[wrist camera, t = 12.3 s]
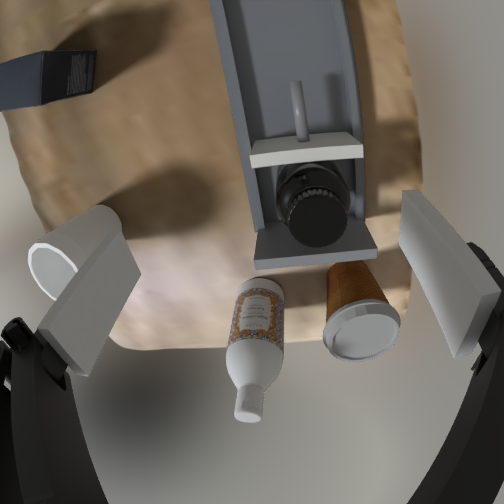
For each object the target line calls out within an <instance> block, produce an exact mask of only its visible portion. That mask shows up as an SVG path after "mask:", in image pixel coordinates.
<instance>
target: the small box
mask: <svg viewBox="0 0 504 504" xmlns="http://www.w3.org/2000/svg"><path fill="white" fill-rule="evenodd" d="M96 53H97V50H96V49H91V50H64V51H40V52H36V53H33V54H29V55H25V56H22V57H19V58H15V59H12V60H9V61H7V62H4V63H1V64H0V112H1V111H7V110H13V109H20V108H28V107H37V106H42V105H46V104H50V103H54V102H57V101H61V100H65V99H69V98H73V97H77V96H81V95H86V94H90V93H92V91H93V81H94V70H95V60H96Z"/></svg>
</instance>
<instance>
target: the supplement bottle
mask: <svg viewBox="0 0 504 504" xmlns="http://www.w3.org/2000/svg"><path fill="white" fill-rule="evenodd" d="M350 205H351V197H350V192H349V189H348V186H347V184H346V182H345V180H344V179H343V177H342V175H341V173H340V171H339V170H338V168H337V166H336V165H335V163H334V161H333V160H322V161H311V162H301V163H291V164H282V165H278V169H277V178H276V209H277V212H278V215H279V217H280V219H281V220H282V222H283V223H284V224H285V225H286V226H287V227H288V228H289V231H290V232H291V235H292V236H294V238H295V240H297V241H298V242H299V243H302V244H303V245H305V246H308V247H313V248H316V247H318V248H321V247H326V246H327V245H331V244H332V243H335V242H336V241H337V240H338V239H340V237H341V236H342V235H343V233H344V231H345V230H346V226H347V220H348V218H347V215H348V213H349V210H350Z"/></svg>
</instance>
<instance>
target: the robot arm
mask: <svg viewBox="0 0 504 504" xmlns="http://www.w3.org/2000/svg"><path fill="white" fill-rule="evenodd" d="M399 246H400V247H401V249H402V251H403V253H404V254H405V256H406V258H407V260H408V262H409V263H410V265H411V267H412V269H413V271H414V273H415V275H416V277H417V279H418V280H419V282H420V284H421V286H422V288H423V290H424V292H425V294H426V296H427V298H428V301H429V302H430V305H431V307H432V309H433V311H434V313H435V315H436V317H437V320H438V322H439V324H440V326H441V329H442V331H443V333H444V336H445V338H446V341H447V343H448V345H449V348H450V350H451V353H452V355H453V358H458V357H461V356H465V355H468V354H471V353H472V352H473V350H474V348H475V347H476V345H477V343H478V342H479V344H480V346H481V349H482V351H481V353H480V355H479V357H478V358H477V360H476V362H475V363H474V365H473V367H472V368H471V370H474V369H475V370H474V373H473V376H472V379H471V381H470V384H469V387H468V390H467V392H466V395H465V397H464V400H463V402H462V405H461V407H460V410H459V412H458V414H457V417H456V419H455V421H454V423H453V425H452V427H451V430H450V432H449V434H448V436H447V438H446V440H445V442H444V444H443V446H442V448H441V449H440V451H439V454H438V455H437V457H436V459H435V460H434V462H433V464H432V466H431V467H430V469H429V471H428V472H427V474H426V476H425V477H424V479H423V480H422V482H421V484H420V485H419V487H418V488H417V490H416V491H415V493H414V494H413V496H412V497H411V499H410V500H409V501H408V503H407V504H493V502H494V500H495V498H496V496H497V494H498V492H499V490H500V488H501V485H502V483H503V481H504V277H503V275H502V274H501V273H500V271H499V270H498V269H497V268H495V265H494V263H493V262H492V261H491V260H490V258H489V257H488V256H487V255H486V253H485V252H484V251H483V250H482V249H481V248H480V247H478V246H477V245H475V244H474V243H472V242H470V243H465V241H464V240H463V239H462V238H461V236H460V235H459V234H458V233H457V232H456V231H455V229H454V228H453V227H452V226H451V225H450V224H449V223H448V221H447V220H446V219H445V218H444V217H443V216H442V215H441V214H440V213H439V211H438V210H437V209H436V208H435V207H434V206H433V205H432V204H431V203H430V202H429V201H428V200H427V199H426V198H425V197H424V196H423V195H422V194H421V193H420V192H419V191H418V190H404V191H402V207H401V225H400V238H399ZM140 276H141V272H140V270H139V268H138V266H137V264H136V262H135V260H134V258H133V256H132V253H131V251H130V249H129V247H128V245H127V242H126V240H125V238H124V236H123V233H122V231H121V230H119V231H114V232H109V234H108V235H107V236H106V237H105V238H104V239H103V241H102V242H101V243H100V244H99V245H98V246H97V248H96V249H95V250H94V251H93V253H92V254H91V255H90V256H89V257H88V259H87V260H86V261H85V262H84V264H83V265H82V266H81V267H80V269H79V270H78V271H77V273H76V274H75V275H74V276H73V278H72V279H71V280H70V282H69V283H68V284H67V286H66V287H65V288H64V290H63V291H62V293H61V294H60V295H59V297H58V298H57V299H56V301H55V302H54V304H53V305H52V307H51V308H50V309H49V311H48V312H47V314H46V315H45V317H44V318H43V320H42V321H41V323H40V324H39V326H38V327H37V330H36V332H35V333H34V334H33V333H32V331H31V330H30V329H29V327H28V326H27V325H26V323H25V322H24V321H23V319H22V318H20V317H17V318H14V319H13V320H11V321H10V322H9V323H8V324H7V325H6V326H5V327H4V329H3V330H2V333H1V337H2V338H3V339H4V340H5V341H6V343H7V344H8V345H9V346H10V347H11V348H9V347H8V346H7V345H6V344H5V342H4V341H2V340H1V341H0V504H108V501H107V499H106V497H105V495H104V492H103V490H102V487H101V485H100V482H99V480H98V477H97V474H96V472H95V469H94V466H93V463H92V460H91V457H90V455H89V451H88V448H87V445H86V442H85V438H84V435H83V432H82V428H81V424H80V420H79V417H78V412H77V408H76V404H75V400H74V395H73V390H72V386H71V380H70V376H69V374H68V373H67V372H66V371H65V370H66V368H67V366H69V367H70V368H71V369H72V370H73V371H74V372H75V373H76V374H78V375H84V376H89V375H90V372H91V370H92V368H93V366H94V364H95V362H96V360H97V358H98V355H99V353H100V351H101V349H102V347H103V345H104V343H105V341H106V339H107V337H108V335H109V333H110V331H111V329H112V327H113V325H114V323H115V321H116V320H117V318H118V316H119V314H120V312H121V310H122V308H123V306H124V304H125V303H126V301H127V299H128V297H129V295H130V293H131V292H132V290H133V288H134V286H135V284H136V283H137V281H138V279H139V277H140ZM5 379H6V381H7V382H8V383H9V384H10V385H11V391H10V390H9V389H8V388H6V387H5V386H4V381H5Z"/></svg>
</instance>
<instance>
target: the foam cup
mask: <svg viewBox="0 0 504 504" xmlns="http://www.w3.org/2000/svg"><path fill="white" fill-rule="evenodd" d="M119 230H121V231H122V223H121V221H120V219H119V217H118V215H117V214H116V213H115V212H114V211H113V210H112V209H111V208H110V207H107V206H105V205H95V206H93V207H91V208H89V209H88V210H86V211H84V212H82V213H81V214H79V215H77V216H76V217H74V218H72V219H71V220H69V221H68V222H66V223H64V224H63V225H61V226H60V227H58V228H56V229H55V230H53V231H52V232H50V233H46V234H45V235H44V236H43V237H42V238H41V239H39V240H38V241H37V242H36V243H35V244H34V245H33V246H32V247H31V248H30V250H29V254H28V264H29V267H30V270H31V273H32V276H33V277H34V279H35V280H36V282H37V283H38V285H39V286H40V288H41V289H42V290H43V291H44V292H45V293H46V294H47V295H48V296H50V297H51V298H52V299H54V300H55V301H56V299H57V298H58V297H59V295H60V294H61V293H62V291H63V290H64V288H65V287H66V286H67V284H68V283H69V282H70V280H71V279H72V278H73V276H74V275H75V274H76V273H77V271H78V270H79V269H80V267H81V266H82V265H83V264H84V262H85V261H86V260H87V259H88V257H89V256H90V255H91V254H92V253H93V251H94V250H95V249H96V248H97V246H98V245H99V244H100V243H101V242H102V241H103V239H104V238H105V237H106V236H107V235H108V234H109V232H114V231H119Z"/></svg>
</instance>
